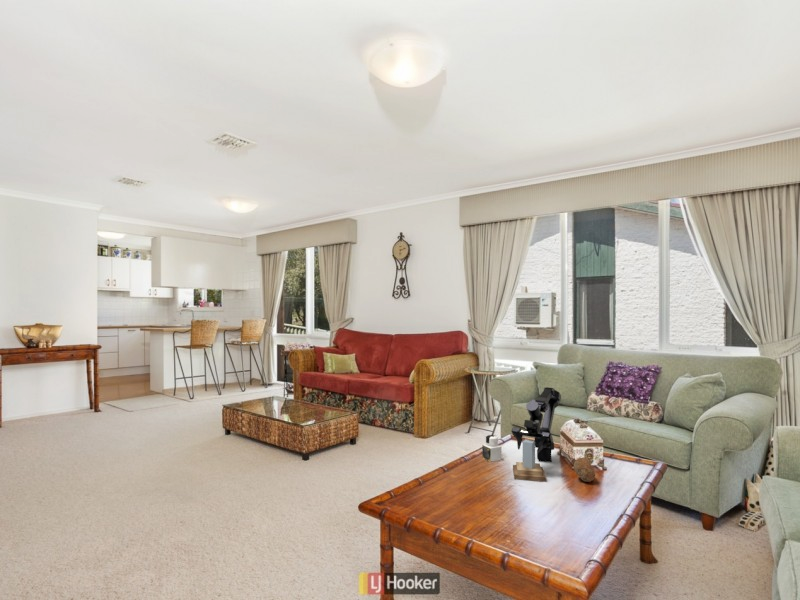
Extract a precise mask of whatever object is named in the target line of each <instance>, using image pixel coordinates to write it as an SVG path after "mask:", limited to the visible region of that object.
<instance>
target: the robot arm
mask: <svg viewBox="0 0 800 600" xmlns="http://www.w3.org/2000/svg"><path fill="white" fill-rule="evenodd" d="M561 400H562V394H561V393H560V391H558V390H556V389H555V388H554V387H544V388H543V391H542V392H541V394H540V395H539V397H536V398H532V399H531V400H530V401H528V402H527V403H526V405H525V408H526V410H527V414H528V415H529V417H530V418H529V419H524V421H523V422H524V424H523V428H524V429H525V431H524V430H522V428H520V427H517V426H516V427H515V426H513V427H512V428H511V430H510V431H511V433H512V436H513V437H514V438H515V439H516V442H517V450H520V449H521V446H522V443H523V436H525V437H531V438H534V441H535V449H537V450H536V458H537V460H538V462H546V463H552V451H554V450H555V442H554V438H553V435H552V432H551V429H552V425H553V420H554V414H555V409H556V408H557V407H558V406H559V405H560V402H561ZM543 413H544V414H543Z"/></svg>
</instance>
